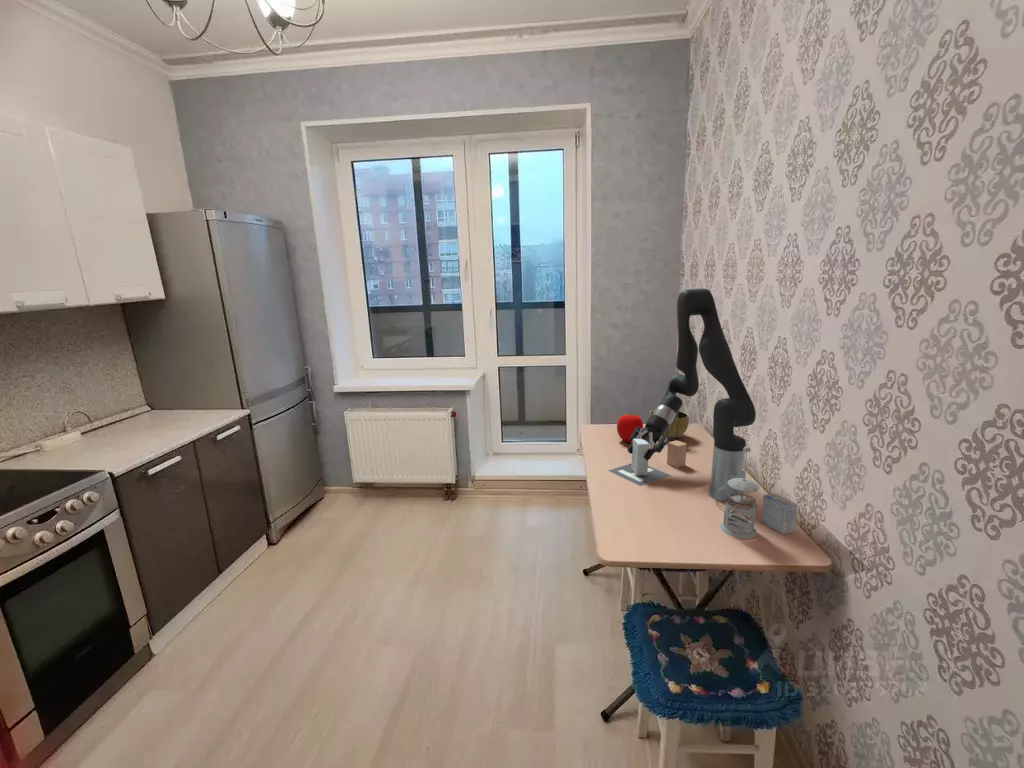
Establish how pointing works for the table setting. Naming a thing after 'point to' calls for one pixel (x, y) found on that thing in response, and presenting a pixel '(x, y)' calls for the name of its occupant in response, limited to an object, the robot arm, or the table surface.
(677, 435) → the ceramic bowl
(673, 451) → the peach block
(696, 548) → the table surface
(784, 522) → the medicine box
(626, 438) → the red apple
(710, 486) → the robot arm
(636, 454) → the skincare box
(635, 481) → the letter card
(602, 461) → the table surface
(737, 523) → the french press
